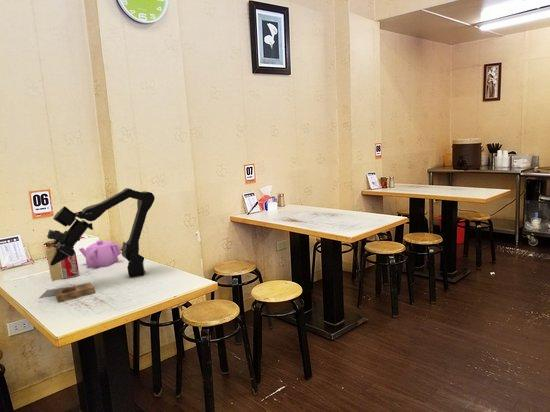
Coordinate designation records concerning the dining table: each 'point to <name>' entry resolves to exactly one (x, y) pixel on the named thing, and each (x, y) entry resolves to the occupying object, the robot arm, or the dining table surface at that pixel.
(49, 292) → the mat
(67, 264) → the soda can
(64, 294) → the socket block
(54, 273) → the pin
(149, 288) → the dining table surface
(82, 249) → the teakettle
